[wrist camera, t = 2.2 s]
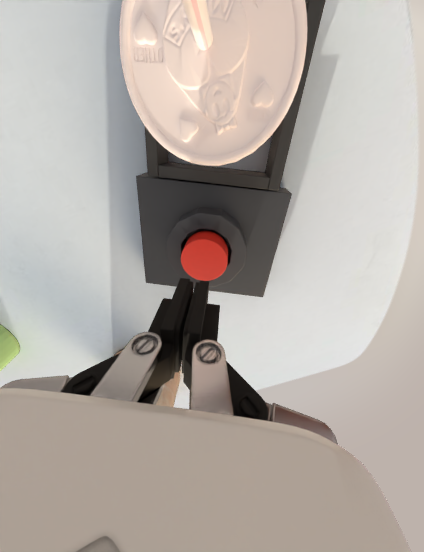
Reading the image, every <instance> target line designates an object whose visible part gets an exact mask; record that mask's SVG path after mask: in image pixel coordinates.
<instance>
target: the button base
mask: <svg viewBox="0 0 424 552" xmlns="http://www.w3.org/2000/svg"><path fill="white" fill-rule="evenodd" d="M136 178H137V189H138V200H139V211H140V222H141V233H142V244H143V255H144V266H145V277H146V283H153V284H161V285H169V286H177V285H178V283H179V280H180V278H187V279H190V281H191V282H193V289H194V288H195V285H196V282H199V283H200V280H198V279H195V278H193V277H191V276H190V275H189V274H188V273H187V272H186V271H185V270H184V268H183V266H182V263H181V254H182V251H183V249H184V247H185V244H186V242H187V241H188V239H189V238H190V237H191V236H192V235H193V234H195V233H197V232H201V231H210V232H214V233H216V234H218V235H219V236H221V237H222V238H223V239H224V241H225V242H226V244H227V248H228V262H227V267H226V270H225V271H224V273H223V274H222V275H221V276H219V277H218V278H216V279H213V280H209V291H217V292H225V293H233V294H241V295H249V296H257V297H263V295H264V292H265V288H266V284H267V281H268V277H269V274H270V270H271V266H272V263H273V259H274V256H275V252H276V249H277V245H278V241H279V238H280V234H281V231H282V227H283V223H284V220H285V216H286V213H287V209H288V205H289V202H290V198H291V195H292V193H290V192H289V191H288V190H287V189H286V188H279V190H278V191H277V190H269V189H259V188H250V187H241V186H232V185H224V184H215V183H206V182H197V181H188V180H179V179H170V178H161V177H153V176H148V173H144V174H141V175H138V176H136Z"/></svg>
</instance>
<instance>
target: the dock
mask: <svg viewBox="0 0 424 552" xmlns="http://www.w3.org/2000/svg"><path fill="white" fill-rule="evenodd" d="M305 3H306V12H307V46H306V55H305V61H304V67H303V71H302V75H301V79H300V82H299V86H298V89H297V92H296V94H295V97H294V99H293V102H292V104H291V106H290V108H289V110H288V112H287V114H286V115H285V117H284V119H283V120H282V122H281V123H280V125H279V126H278V128H277V129H276V130H275V132H274V133H273V136H272V141H271V146H270V151H269V156H268V161H267V166H266V171H265V173H263V172H254V171H245V170H236V169H227V168H218V167H209V166H200V165H191V164H182V163H173V162H168V150H167V149H165V148H164V147H163V146H162V145H161V144H160V143H159V142H158V141H157V140H156V139H155V138H154V137H153V136H152V135H151V133H150V132H149V131H148V130H147V128H146V127H145V137H146V153H147V168H148V176H153V177H161V178H170V179H179V180H188V181H197V182H206V183H215V184H224V185H232V186H241V187H250V188H259V189H269V190H277V191H278V190H279V187H280V183H281V179H282V175H283V171H284V167H285V163H286V159H287V155H288V151H289V146H290V142H291V138H292V134H293V130H294V126H295V122H296V118H297V114H298V110H299V106H300V102H301V98H302V94H303V89H304V85H305V81H306V77H307V73H308V69H309V65H310V61H311V57H312V53H313V49H314V45H315V41H316V37H317V32H318V28H319V24H320V20H321V16H322V12H323V8H324V4H325V0H305Z"/></svg>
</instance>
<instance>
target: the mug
mask: <svg viewBox="0 0 424 552" xmlns="http://www.w3.org/2000/svg"><path fill="white" fill-rule="evenodd" d="M19 351H20V346H19V344H18V342H17V340H16V338H15V337H14V336H13V335H12V334H11V333H10V332H9V331H8V330H7V329H5V328H4V327H3V326H1V325H0V371H1V370H2V369H3V368H4V367H5V366H6V365H7V364H8V363H9V362H10V361H11V360H12V359H13V358H14V357H15V356H16V355H17V354H18V353H19Z"/></svg>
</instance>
